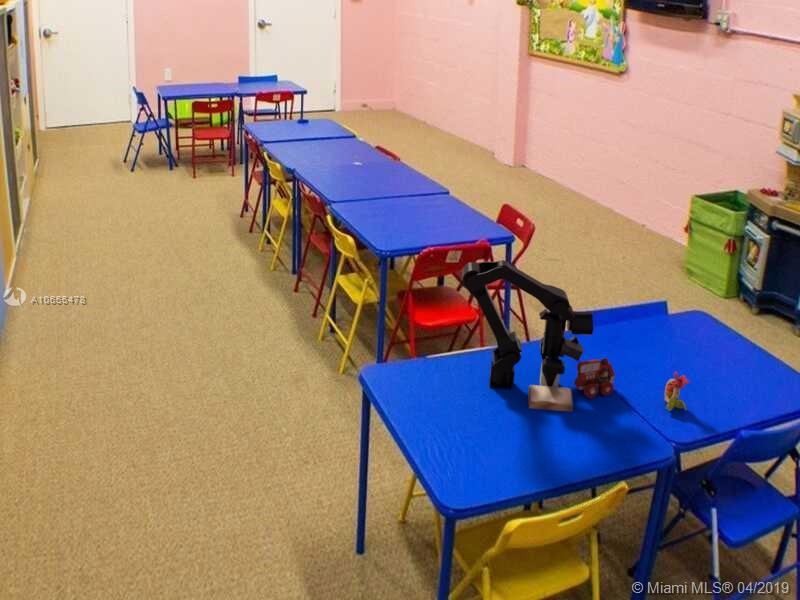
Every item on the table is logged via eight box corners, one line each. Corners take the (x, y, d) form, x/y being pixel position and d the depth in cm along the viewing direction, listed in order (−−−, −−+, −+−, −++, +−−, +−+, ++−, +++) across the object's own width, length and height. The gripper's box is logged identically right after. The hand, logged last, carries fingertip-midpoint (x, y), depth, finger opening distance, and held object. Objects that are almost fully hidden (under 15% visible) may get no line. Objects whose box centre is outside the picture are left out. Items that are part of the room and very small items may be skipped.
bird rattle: (655, 408, 241) (669, 413, 232) (654, 369, 241) (669, 373, 232) (676, 407, 242) (691, 412, 233) (675, 369, 242) (690, 372, 233)
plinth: (528, 408, 236) (529, 400, 235) (528, 391, 244) (529, 384, 243) (572, 411, 235) (573, 404, 234) (570, 394, 243) (571, 387, 242)
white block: (540, 389, 245) (542, 370, 243) (539, 380, 250) (541, 361, 247) (557, 390, 245) (559, 371, 242) (556, 381, 249) (558, 363, 247)
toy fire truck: (618, 393, 244) (623, 362, 240) (581, 400, 240) (585, 368, 236) (605, 382, 250) (610, 351, 246) (568, 388, 246) (572, 357, 242)
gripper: (586, 349, 231) (579, 399, 237) (580, 321, 248) (575, 369, 254) (544, 346, 232) (539, 396, 238) (542, 318, 249) (537, 366, 255)
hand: (549, 381), depth 246 cm, fingers open, 7 cm apart
